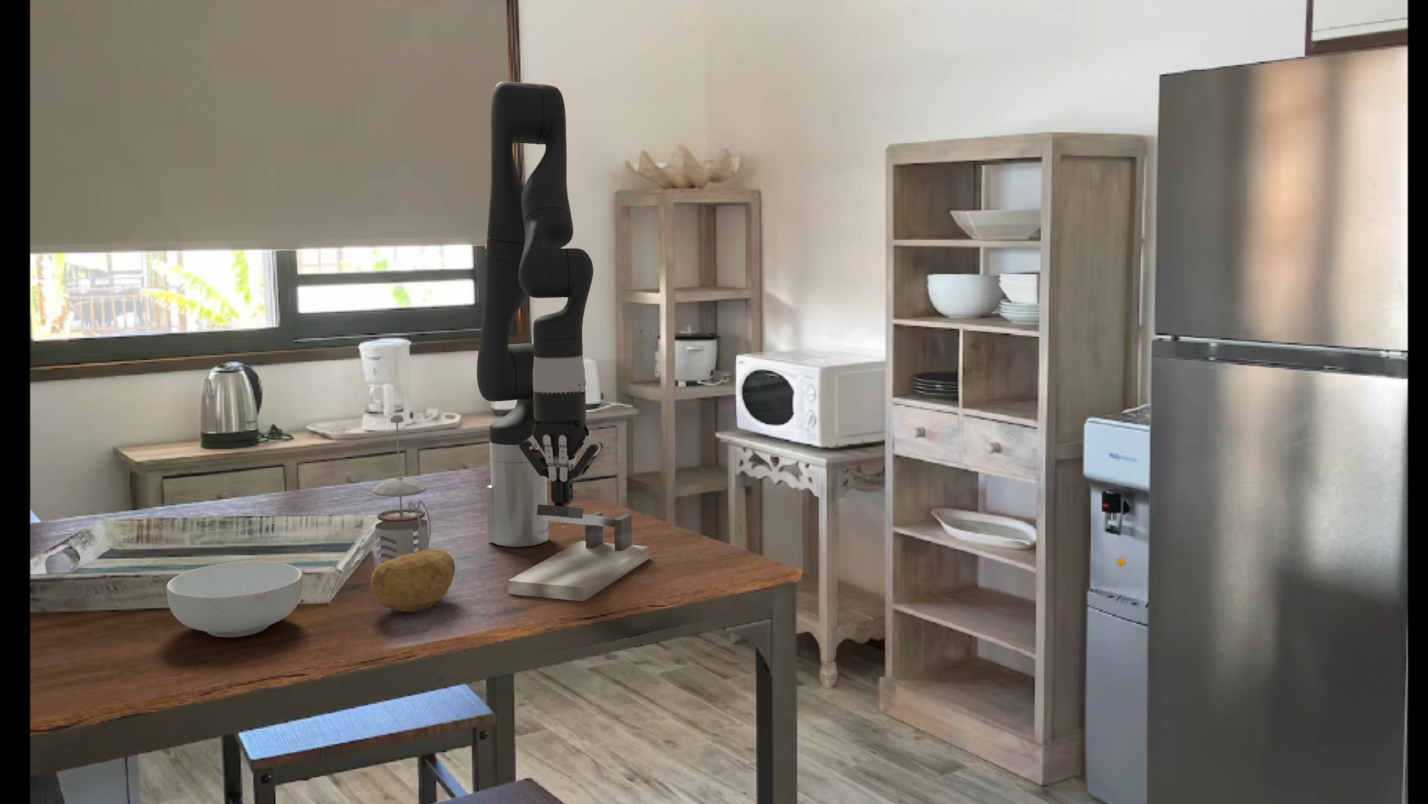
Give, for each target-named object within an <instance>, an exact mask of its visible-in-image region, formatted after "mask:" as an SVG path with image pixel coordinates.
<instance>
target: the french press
mask: <svg viewBox="0 0 1428 804" xmlns="http://www.w3.org/2000/svg"><path fill="white" fill-rule="evenodd" d="M403 422H404V417H403V416H402V415H401V414H393V415H392V416H391V417H390V423H391V424H392V423H393V424H396V425H395V426H396V428H395V429H396V447H397V467H398V468H397V469H398V471H397V472H398V476H397V477H395V478H389V479H387V480H384V481H383V482H380V483H378V484H377V485H376V486H375V487H373V488H372V489H371V492H372V493H373V495H375V496H379V497H389V498H390V497H392V498H395V497H399V508H398V509H392V510H391V509H388V510H384V511H382V512H380V513H378V514H377V516H376V518H377V520H379V521H380V522H378V523H376V524H375V527H374V528H375V540H377V539H378V538H379V540H378V541H377V542H376V543H375V546H376V548H378V547H380V548H378V550H377V551H376V557H378V556H379V555H380V557H378V558H377V559H376V564H377V565H378V564H382V563H384V562H386V561H389V560H392V559H394V558H397V557H399V556H402V555H405V554H410V553H415V552H420V551H423V550H428V549H430V546H429V545H430V540H431V535H432V534H431V533H432V524H431V517H430V514H429V512H428V509H427V505H426V504H425V502H423V501H422V500H418V505H417V507H416V506H415V504H413V503H412V502H411V501H409V503H408V508H403V506H402V504H403V503H402V497H409V496H415V495H420V494H423V493H424V492H425V491H426V490H427V489H428V485H426V484H425V483H424V482H422V481H419V480H417V479H414V478H411V477H403V476H401V462H400V443H399V442H400V441H399V437H400V436H399V423H400V424H401V423H403ZM421 505H422V506H423V508H424V510H425V511H423V510H422V509H420V508H421ZM411 507H413V508H411ZM425 516H427V520H425V519H423V518H424V517H425ZM415 532H417V534H416V535H414V533H415ZM414 541H417V543H414ZM416 549H417V550H416ZM415 550H416V551H415Z"/></svg>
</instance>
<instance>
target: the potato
mask: <svg viewBox="0 0 1428 804" xmlns="http://www.w3.org/2000/svg"><path fill="white" fill-rule="evenodd" d="M414 552H415V553H410V554H405V555H402V556H399V557H397V558H394V559H392V560H389V561H386V562H384V563H382V564H381V563H379V565H378V566H377V567H375V568H374V569H373V571H372V573H371V575H370V582H369V586H370V589H371V591H372V595H373V597H374V598H375V599H376V601H377V602H378V603H379V604H380V605H381V606H383V607H386V608H388V609H390V610H393V611H398V612H405V613H406V612H409V613H410V612H411V613H412V612H421V611H425V610H427V609H430V608H431V607H432V606H434V604H436V603H437V602H438V601H439V600H441V599H442V598H443V597H444V596H445V595H446V594H447V593H448V590H449V589H450V586H451V585H452V583H453V579H454V577H455V571H456V564H455V560H454V559H453V557H452V556H451V555H450V554H449V553H448V552H447V551H445V550H443V549H434V548H432V549H431V548H429V549H428V550H423V551H420V552H416V551H414Z"/></svg>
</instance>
